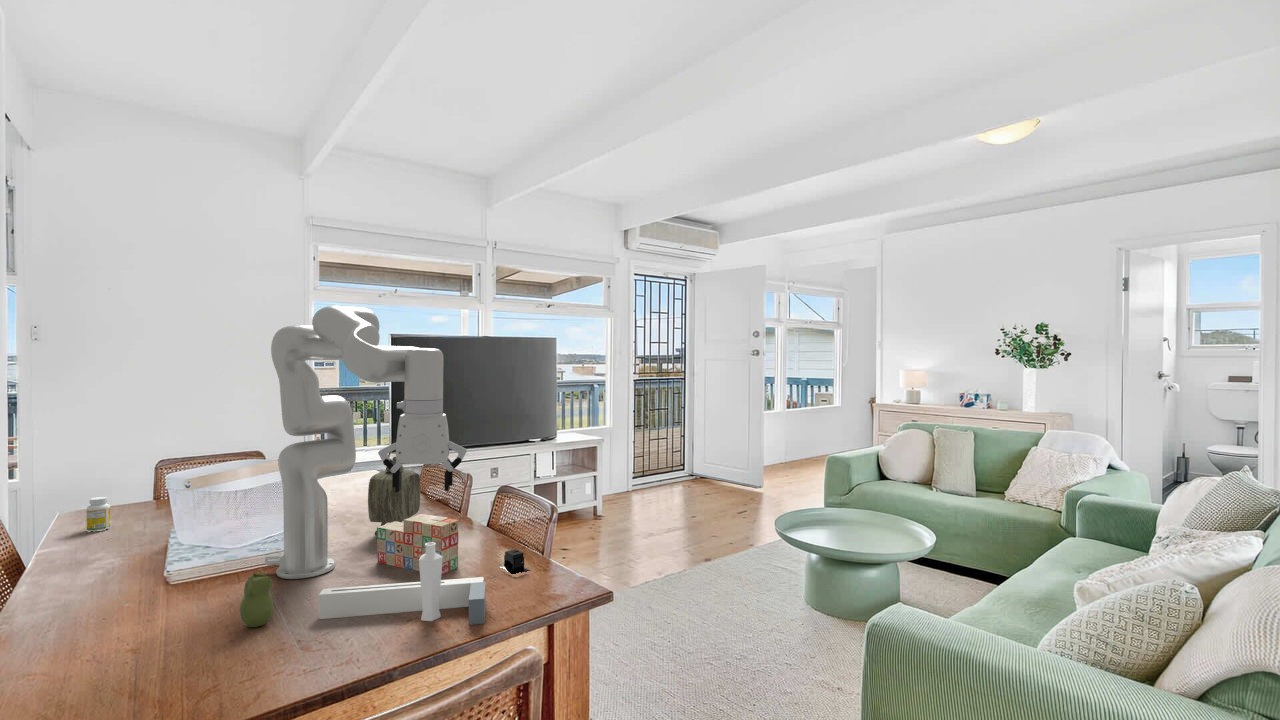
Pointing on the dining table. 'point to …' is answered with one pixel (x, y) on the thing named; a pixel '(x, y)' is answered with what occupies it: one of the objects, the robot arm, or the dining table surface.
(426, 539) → the stack of blocks
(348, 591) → the guide fence
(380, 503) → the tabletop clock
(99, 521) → the supplement bottle
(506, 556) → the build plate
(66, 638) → the dining table surface
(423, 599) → the white faceted vase
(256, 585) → the pear
